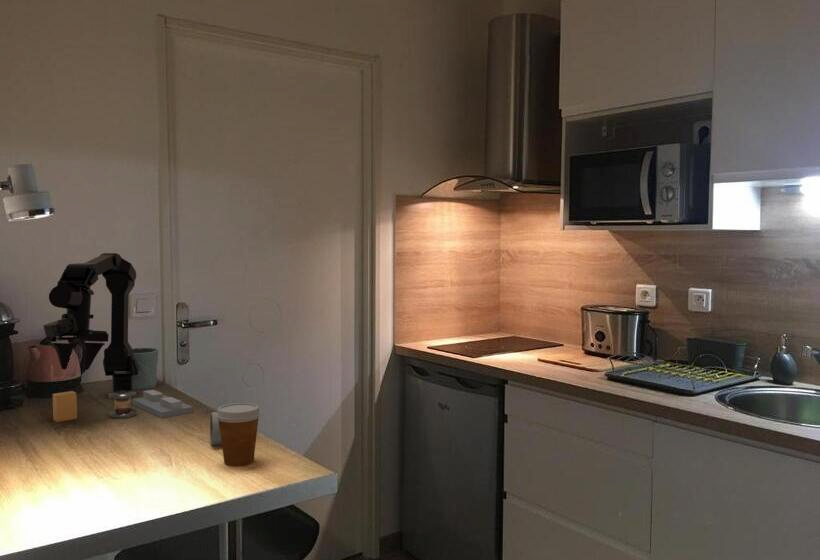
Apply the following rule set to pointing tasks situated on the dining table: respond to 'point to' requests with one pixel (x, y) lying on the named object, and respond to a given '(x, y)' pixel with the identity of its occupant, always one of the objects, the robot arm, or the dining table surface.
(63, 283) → the robot arm
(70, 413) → the orange tab
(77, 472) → the dining table surface
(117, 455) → the dining table surface
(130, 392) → the grey and brown spool
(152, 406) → the notched board
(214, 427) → the ceramic mug
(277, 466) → the dining table surface
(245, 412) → the disposable coffee cup
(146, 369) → the grey green pot
